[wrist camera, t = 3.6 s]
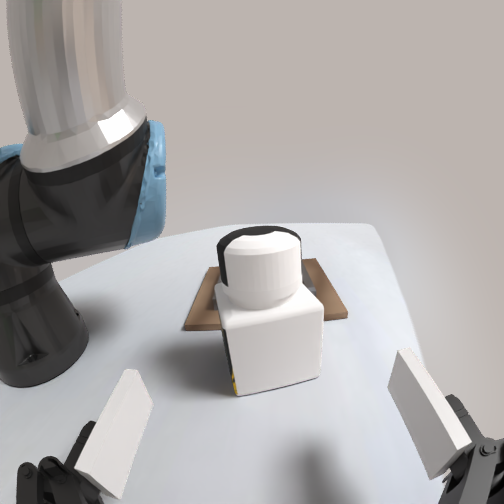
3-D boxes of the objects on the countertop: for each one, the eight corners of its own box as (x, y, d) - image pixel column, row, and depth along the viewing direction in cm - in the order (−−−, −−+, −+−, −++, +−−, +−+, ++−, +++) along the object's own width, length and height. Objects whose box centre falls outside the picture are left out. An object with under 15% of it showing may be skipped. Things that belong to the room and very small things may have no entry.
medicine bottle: (224, 347, 26) (205, 228, 22) (293, 333, 27) (288, 217, 23) (236, 398, 19) (210, 252, 15) (321, 378, 20) (326, 235, 17)
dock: (185, 330, 29) (181, 313, 28) (209, 271, 46) (208, 258, 45) (347, 317, 28) (348, 299, 28) (315, 262, 45) (315, 249, 45)
